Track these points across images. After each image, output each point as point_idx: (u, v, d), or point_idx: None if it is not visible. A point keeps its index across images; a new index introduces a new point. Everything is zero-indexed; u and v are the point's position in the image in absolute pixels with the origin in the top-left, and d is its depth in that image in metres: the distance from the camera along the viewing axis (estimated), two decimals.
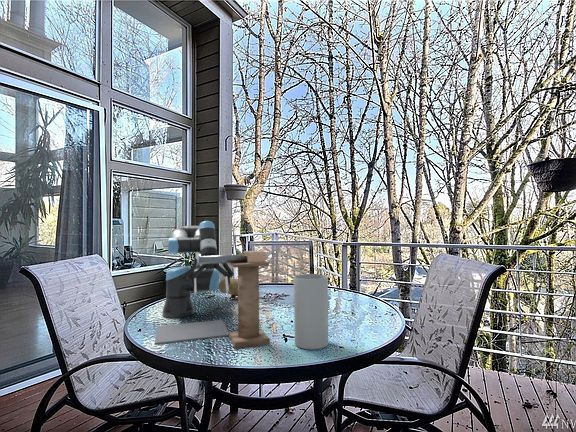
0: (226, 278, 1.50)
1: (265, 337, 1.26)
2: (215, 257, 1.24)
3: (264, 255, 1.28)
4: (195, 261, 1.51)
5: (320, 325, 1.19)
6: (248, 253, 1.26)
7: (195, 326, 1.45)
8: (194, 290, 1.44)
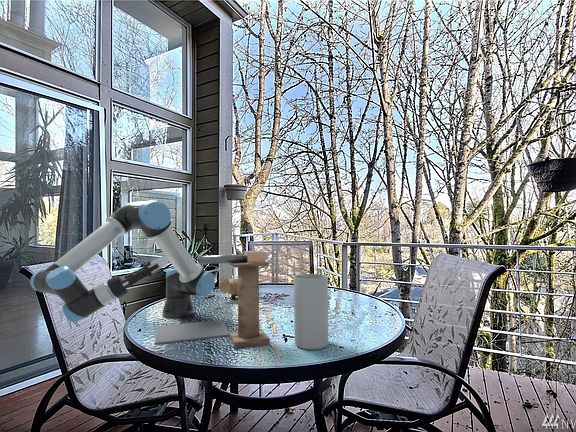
0: (154, 271, 1.18)
1: (265, 337, 1.26)
2: (215, 257, 1.24)
3: (264, 255, 1.28)
4: None
5: (320, 325, 1.19)
6: (248, 253, 1.26)
7: (195, 326, 1.45)
8: None
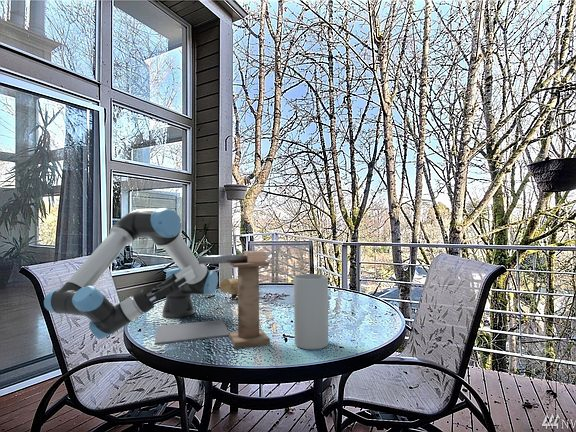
0: (181, 285, 1.15)
1: (265, 337, 1.26)
2: (215, 257, 1.24)
3: (264, 255, 1.28)
4: None
5: (320, 325, 1.19)
6: (248, 253, 1.26)
7: (195, 326, 1.45)
8: None
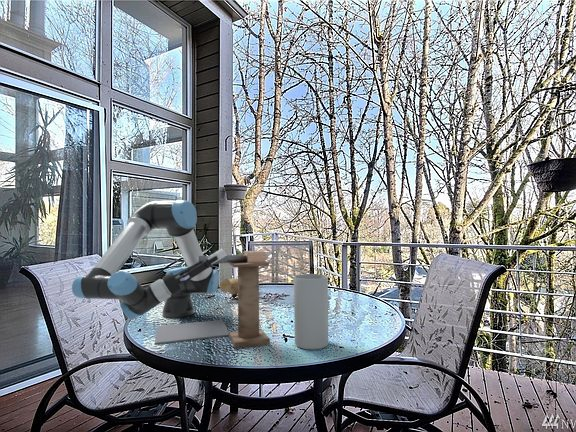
0: (213, 263, 1.24)
1: (265, 337, 1.26)
2: None
3: (264, 255, 1.28)
4: None
5: (320, 325, 1.19)
6: (248, 253, 1.26)
7: (195, 326, 1.45)
8: None
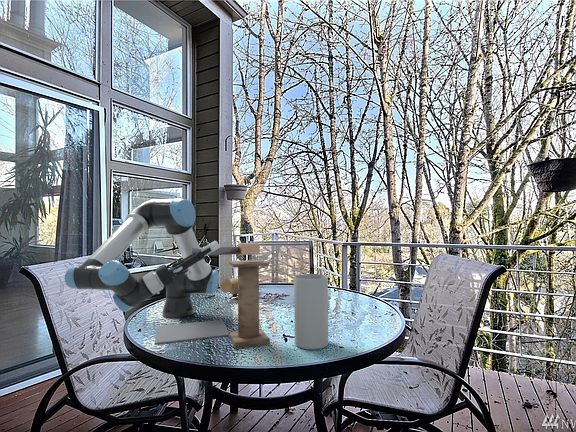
0: None
1: (265, 337, 1.26)
2: None
3: (258, 247, 1.27)
4: None
5: (320, 325, 1.19)
6: (242, 245, 1.25)
7: (195, 326, 1.45)
8: None
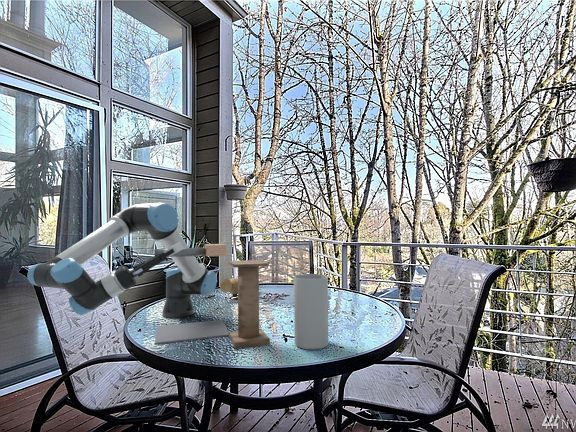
0: (170, 256, 1.19)
1: (265, 337, 1.26)
2: None
3: (224, 248, 1.23)
4: None
5: (320, 325, 1.19)
6: (207, 246, 1.21)
7: (195, 326, 1.45)
8: None
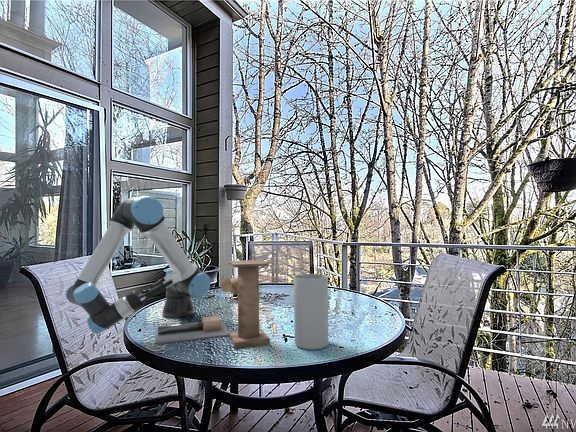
0: (169, 286, 1.32)
1: (265, 337, 1.26)
2: (173, 327, 1.37)
3: (219, 323, 1.40)
4: None
5: (320, 325, 1.19)
6: (204, 322, 1.38)
7: None
8: None
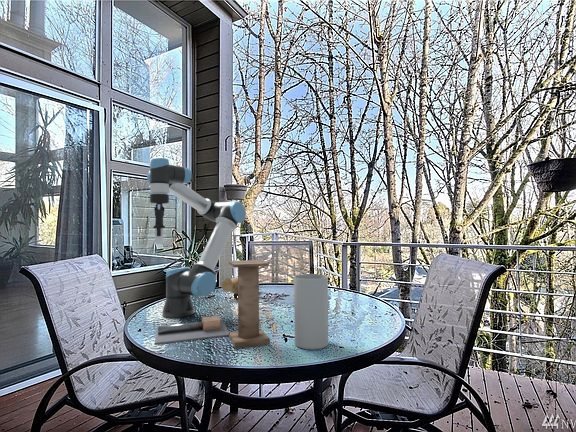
0: (155, 231, 1.37)
1: (265, 337, 1.26)
2: (173, 327, 1.37)
3: (219, 323, 1.40)
4: None
5: (320, 325, 1.19)
6: (204, 322, 1.38)
7: None
8: None
